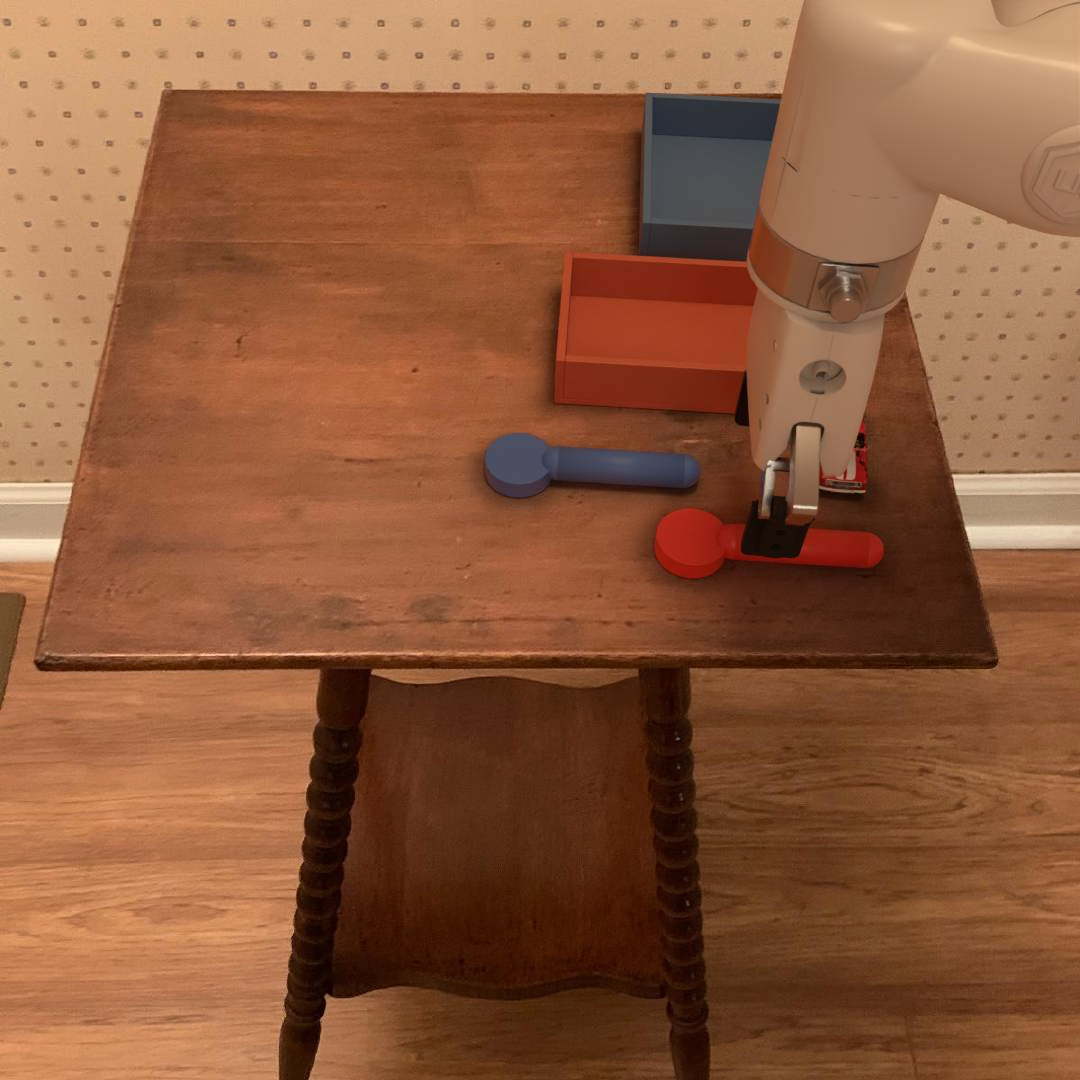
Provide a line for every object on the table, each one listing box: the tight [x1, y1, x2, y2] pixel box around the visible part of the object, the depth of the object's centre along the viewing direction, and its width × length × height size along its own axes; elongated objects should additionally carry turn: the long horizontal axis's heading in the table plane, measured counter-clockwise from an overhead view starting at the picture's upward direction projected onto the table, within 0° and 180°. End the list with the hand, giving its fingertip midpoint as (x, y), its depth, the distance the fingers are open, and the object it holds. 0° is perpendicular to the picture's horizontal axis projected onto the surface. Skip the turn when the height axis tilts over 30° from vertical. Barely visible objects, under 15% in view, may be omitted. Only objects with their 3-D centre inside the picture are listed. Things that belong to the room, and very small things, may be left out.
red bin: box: [553, 251, 758, 415], centre depth 83 cm, size 17×11×4 cm, turn 86°
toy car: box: [819, 411, 873, 495], centre depth 77 cm, size 4×8×3 cm, turn 173°
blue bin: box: [638, 92, 781, 262], centre depth 94 cm, size 12×17×4 cm
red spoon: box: [654, 508, 885, 579], centre depth 72 cm, size 14×4×2 cm, turn 86°
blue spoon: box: [484, 432, 701, 499], centre depth 76 cm, size 14×4×2 cm, turn 86°
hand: (764, 485), depth 68 cm, fingers open, 9 cm apart
